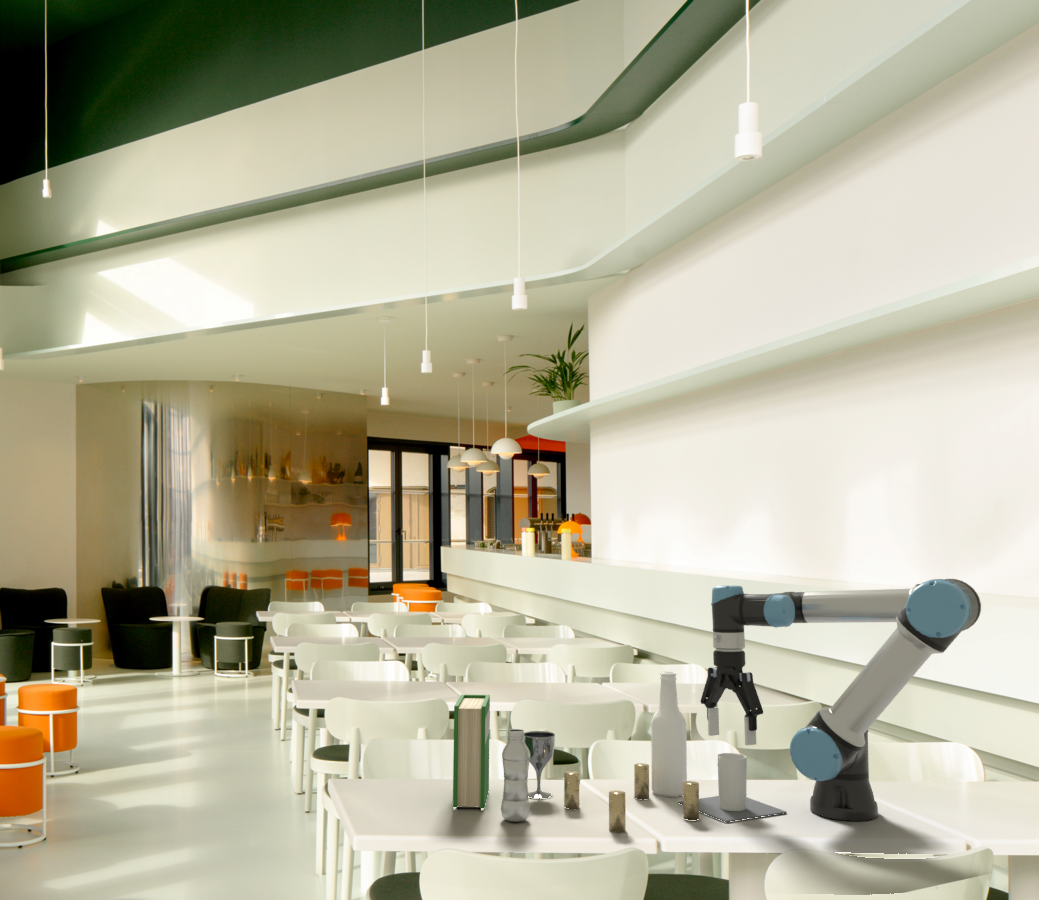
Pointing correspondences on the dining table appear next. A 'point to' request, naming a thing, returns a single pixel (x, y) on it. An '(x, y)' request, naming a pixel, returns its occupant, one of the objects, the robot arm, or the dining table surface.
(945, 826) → the dining table surface
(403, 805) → the dining table surface
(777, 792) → the dining table surface
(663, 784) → the alcohol
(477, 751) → the hardback book
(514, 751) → the plastic bottle
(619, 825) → the spacer posts
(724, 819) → the mat
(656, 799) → the dining table surface
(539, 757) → the wine glass
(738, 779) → the mug
